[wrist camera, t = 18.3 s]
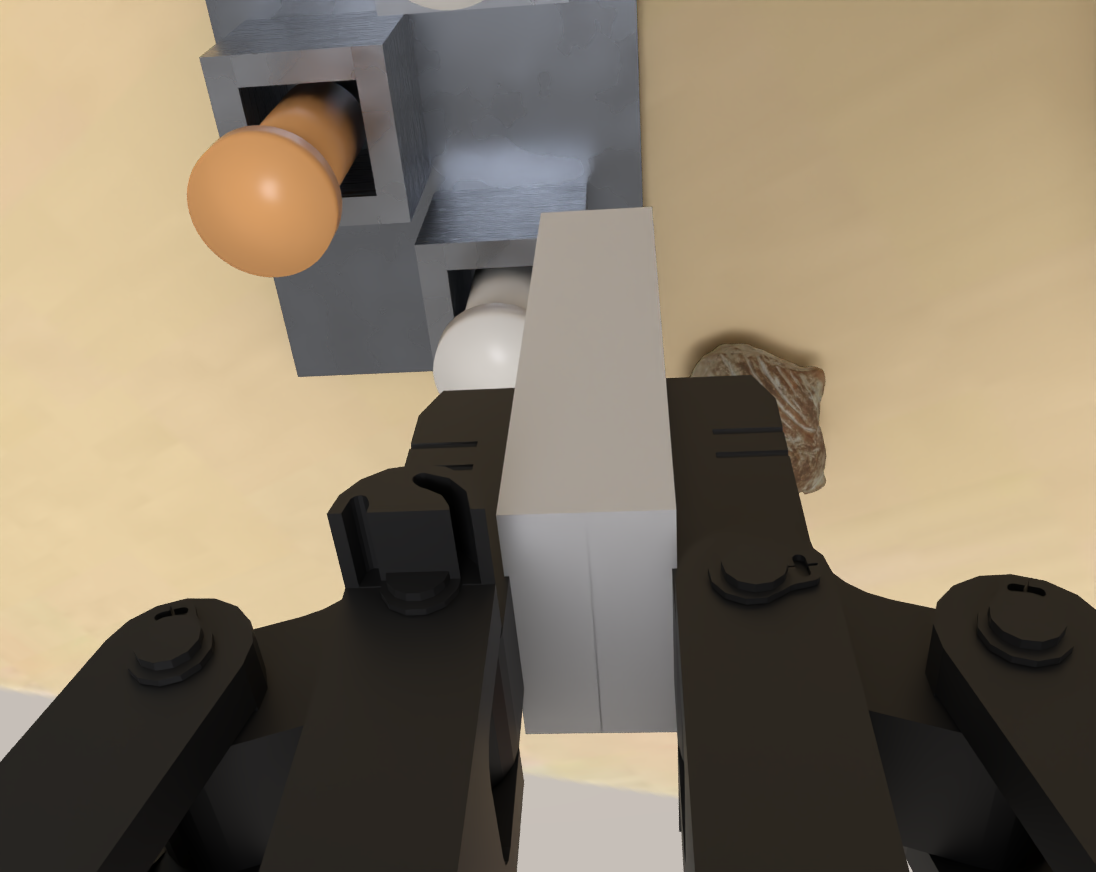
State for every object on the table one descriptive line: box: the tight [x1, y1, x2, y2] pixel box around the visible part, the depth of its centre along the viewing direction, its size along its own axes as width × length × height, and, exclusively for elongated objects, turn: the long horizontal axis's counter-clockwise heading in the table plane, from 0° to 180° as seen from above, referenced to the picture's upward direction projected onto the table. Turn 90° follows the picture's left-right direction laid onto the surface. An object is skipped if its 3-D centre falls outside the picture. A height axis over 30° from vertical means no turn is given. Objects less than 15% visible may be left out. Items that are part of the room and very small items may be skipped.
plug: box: [433, 266, 533, 394], centre depth 45 cm, size 5×5×9 cm
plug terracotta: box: [187, 81, 366, 277], centre depth 39 cm, size 5×5×9 cm
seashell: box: [690, 344, 826, 494], centre depth 53 cm, size 9×7×8 cm
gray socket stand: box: [199, 0, 643, 377], centre depth 44 cm, size 18×28×8 cm, turn 5°
